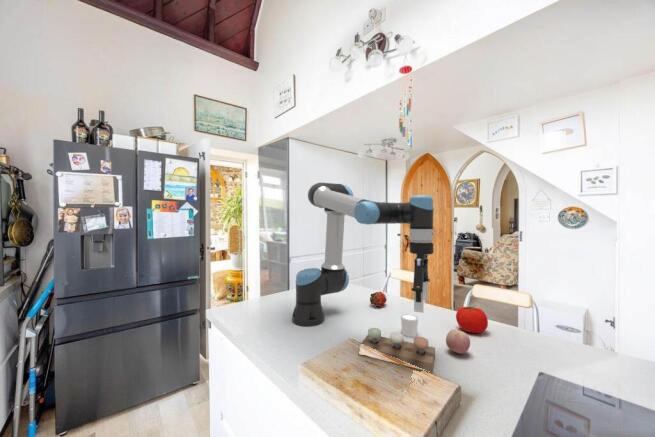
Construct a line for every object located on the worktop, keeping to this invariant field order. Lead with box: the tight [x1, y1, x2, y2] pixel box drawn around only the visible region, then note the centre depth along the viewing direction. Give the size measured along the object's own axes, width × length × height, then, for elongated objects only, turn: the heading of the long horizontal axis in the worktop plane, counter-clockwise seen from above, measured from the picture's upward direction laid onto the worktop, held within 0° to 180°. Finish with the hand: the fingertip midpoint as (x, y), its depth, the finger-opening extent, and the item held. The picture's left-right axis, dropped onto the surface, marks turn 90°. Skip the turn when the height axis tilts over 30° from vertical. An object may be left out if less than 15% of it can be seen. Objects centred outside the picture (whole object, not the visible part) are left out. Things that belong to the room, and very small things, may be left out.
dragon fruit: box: [369, 291, 388, 308], centre depth 142 cm, size 8×8×12 cm
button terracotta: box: [413, 336, 429, 355], centre depth 88 cm, size 5×5×6 cm
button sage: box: [367, 327, 382, 344], centre depth 95 cm, size 5×5×6 cm
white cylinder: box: [400, 313, 419, 338], centre depth 108 cm, size 7×7×7 cm
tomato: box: [455, 305, 489, 334], centre depth 111 cm, size 12×12×10 cm
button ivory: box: [389, 331, 405, 349], centre depth 91 cm, size 5×5×6 cm
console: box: [361, 334, 436, 373], centre depth 91 cm, size 24×11×3 cm, turn 63°
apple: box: [445, 329, 471, 355], centre depth 93 cm, size 8×8×8 cm
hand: (421, 305), depth 88 cm, fingers open, 12 cm apart
